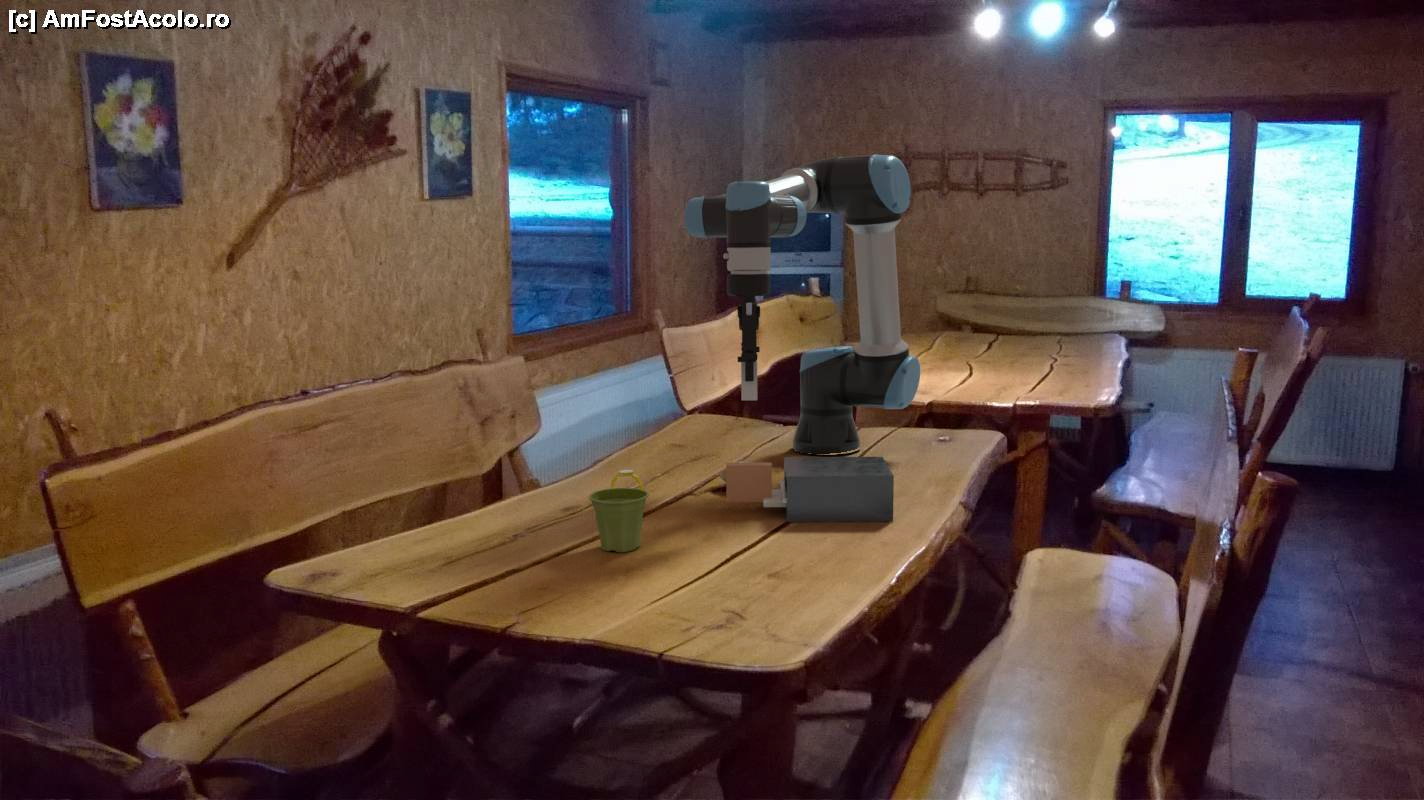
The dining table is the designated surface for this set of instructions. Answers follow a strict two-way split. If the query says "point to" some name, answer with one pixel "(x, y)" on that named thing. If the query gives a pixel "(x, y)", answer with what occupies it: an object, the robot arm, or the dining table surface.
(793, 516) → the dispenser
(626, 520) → the plant pot
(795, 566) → the dining table surface
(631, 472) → the watch
